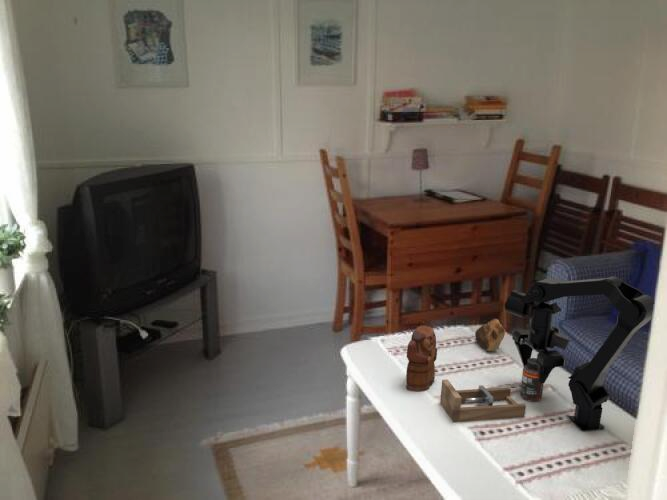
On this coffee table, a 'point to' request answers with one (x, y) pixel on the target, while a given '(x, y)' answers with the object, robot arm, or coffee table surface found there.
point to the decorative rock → (490, 335)
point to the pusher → (482, 397)
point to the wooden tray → (455, 398)
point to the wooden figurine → (421, 359)
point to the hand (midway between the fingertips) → (533, 375)
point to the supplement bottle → (531, 382)
